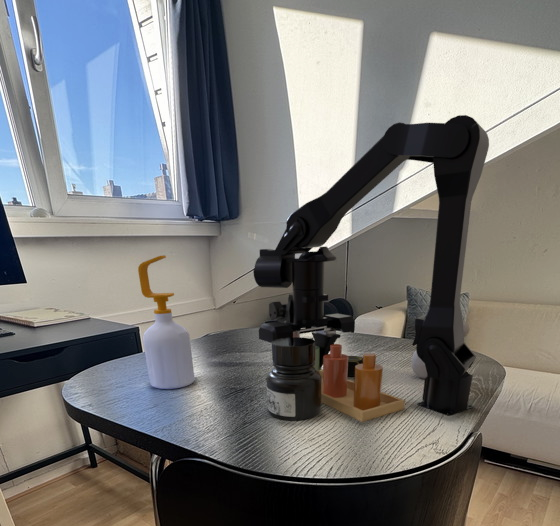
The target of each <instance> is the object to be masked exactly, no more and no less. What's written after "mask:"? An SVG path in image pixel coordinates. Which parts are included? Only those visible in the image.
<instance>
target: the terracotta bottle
mask: <svg viewBox="0 0 560 526" xmlns="http://www.w3.org/2000/svg"><path fill="white" fill-rule="evenodd" d="M342 349H343V346H342V344H340V343H334V344H332V345H330V351H329V353H328V354H327V355H324V356H323V365H322V370H323V393H324V394H326V395H329V396H331V397H333V398H340V397H344V396H346V395H347V379H348V377H349V376H348V356H349V355H347V354H344V353H342V351H343V350H342Z"/></svg>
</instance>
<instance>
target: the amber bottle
mask: <svg viewBox="0 0 560 526" xmlns="http://www.w3.org/2000/svg"><path fill="white" fill-rule="evenodd" d="M362 355H363V356H362V357H363V364H358V365H356V366H355V376H354V380H353V381H354V400H353V406H354V407H356V408H358V409H360V410H363V411H364V410H367V409H371V408H374V407H378V406H380V400H381V392H382V385H383V373H384V367H383V365H381V364H378V363H377V354H376V353H373V352H367V353H366V352H365V353H363V354H362Z"/></svg>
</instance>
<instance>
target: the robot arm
mask: <svg viewBox="0 0 560 526" xmlns="http://www.w3.org/2000/svg"><path fill="white" fill-rule="evenodd" d="M489 148H490V138H489V135H488V132H487V131H486V130H485V129H484V128H483V127H482V125H481V124H479V123H478V122H477V120H475V118H474V117H472V116H469V115H466V114H463V115H462V114H460V115H456V116H454V117H451V118H449V120H447V121H446V122H420V123H411V124H410V123H404V122H396V123H393V124H392V125H390V126H389V127H388V128H387V129H386V131H385V132H384V135H382V136H381V137H380V139H378V141H376V142H375V144H373V145H372V147H371V148H369V149H368V150H367V151H366V152H365V154H363V155H362V156H361V157H360V158H359V159H358V160H357V161H356V162H355V163H354V164H353V165H352V166H351V167H350V168H349V169H348V170H347V171H346V172H345V173H344V174H343V175H342V176H341V177H340V178H339V179H337V181H336V182H335V183H334V184H333V185H332V186H331V187H330V188H329V189H328V190H327V191H326V192H324V193H323V194H321V195H320V196H319V197H316V198H314V199H312V200H310V201H307V202H306V203H305V204H303V205H301V206H300V207H299V208H298V209H295V210H294V211H293V212H292V213H290V215H289V216H288V218H287V220H286V221H285V224H286V228H285V230H284V232H283V234H282V236H281V237H280V239H279V241H278V243H277V245H276V247H275V249H273V248H260V249H259V256H258V257H257V259H256V260H255V263H254V268H253V278H254V281H255V283H256V285H257V286H258V287H260V288H272V289H273V288H275V289H288V288H289V287H291V285H292V293H291V294H290V293H289V294H288V297H287V303H284V304H282V302H281V301H272V302H269V304H268V316H269V319H270V320H271V321H272V322H265V323H261V324H260V326H259V328H258V339H259V340H261V341H264V342H267V343H270V344H272V341H274V340H277V339H280V338H290V337H301V335H302V334H308V333H311V335H312V337H313V340H314V341H315V346H318V347H319V348H320V356H319V370H320V369H321V370H322V368H323V356H324V355H327V354H330V345H332V344H336V341H337V340H338V339H340V338H341V334H339V333H337V329H339V330H340V332H341V333H344V334H345V333H350V332H351V333H352V332H355V331H356V321H355V319H354V317H353V315H349V314H342V313H330V314H324V313H325V312H324V311H325V310H324V309H325V302H326V301H329V294H325V262H326V263H328V262H335V261H336V260H337V258H336V255H334V254H333V253H332V252H331V250H329V248H328V246H323V245H325V244H326V243H327V241H329V240H330V238H331V237H332V235H333V234H334V233H335V232H336V231H337V229H338V228H339V225H340V223H341V221H342V219H343V218H344V217H345V216H346V215H347V213H348V212H350V211H351V210H352V209H353V207H355V206H356V205H357V204H359V203H360V201H362V199H363V198H365V197H366V196H367V195H368V194H369V193H371V191H372V190H374V189H375V188H376V187H377V186H379V184H380V183H382V181H384V180H385V179H386V178H387V177H388V176H389V175H390V174H392V173H393V172H394V171H395V170H396V169H397V168H398V167H399V166H401V165H402V164H403V163H404V162H405V161H416V162H423V163H432V164H433V176H434V181H435V185H436V190H437V196H438V211H437V224H436V231H435V232H436V234H435V242H434V243H435V244H434V257H433V266H432V276H431V277H432V278H431V288H430V299H429V300H430V302H429V306H428V309H427V312H426V313H425V314H422V315H421V316H419V317H416V318H415V319H414V331H415V332H414V333H415V336H414V339H413V342H412V344H411V345H412V346H416V348H415V351H417V355H418V357H419V358H420V359H421V360H422V361H423V362H424V363H425V367H426V371H427V377H426V378H425V379H424V383H423V390H422V391H423V392H422V398H421V399H422V401H420V402H417V404H416V405H417V406H419V407H421V408H424V409H428V410H430V411H433V412H435V413H437V414H440V415H442V416H443V415H444V416H446V417H451V416H454V415H457V414H459V413H462V412H465V411H468V410H471V409H473V408H474V406H473V405H471V404H469V399H470V395H471V388H472V382H473V376H474V374H471V373H469V371H468V370H469V369H471V368H472V365H473V364H474V362H475V361H476V359H477V356H476V355H475V354H474V352H473V350H471V349H470V348H469V346H468V345H467V344H466V342H465V337H464V328H463V321H464V318H463V314H462V309H461V293H462V285H463V277H464V276H463V275H464V268H465V258H466V251H467V241H468V234H469V233H468V232H469V225H470V217H471V209H472V200H473V197H474V194H475V191H476V190H477V187H478V184H479V182H480V180H481V176H482V173H483V169H484V166H485V163H486V159H487V156H488V152H489ZM313 248H318V249H317V250H315V251H312V249H313ZM296 255H299V257H296Z"/></svg>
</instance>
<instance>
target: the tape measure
mask: <svg viewBox="0 0 560 526" xmlns="http://www.w3.org/2000/svg"><path fill="white" fill-rule="evenodd" d="M347 356H348V376H347V377H355V366H356V365H358V364H363V356H359V355H358V356H357V355H347Z"/></svg>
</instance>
